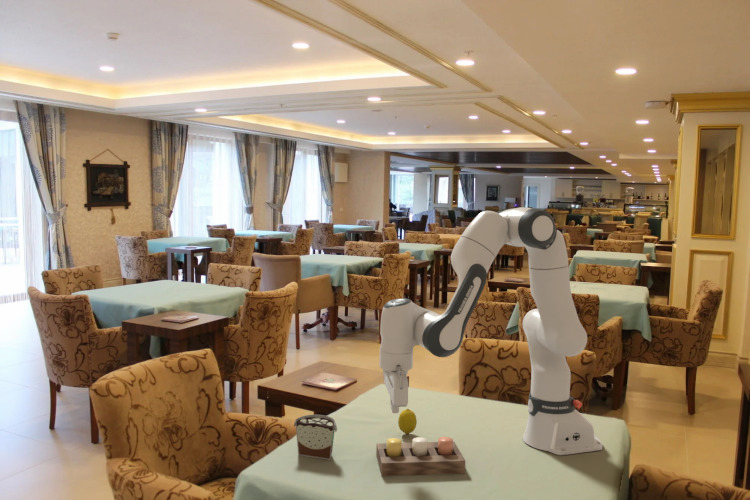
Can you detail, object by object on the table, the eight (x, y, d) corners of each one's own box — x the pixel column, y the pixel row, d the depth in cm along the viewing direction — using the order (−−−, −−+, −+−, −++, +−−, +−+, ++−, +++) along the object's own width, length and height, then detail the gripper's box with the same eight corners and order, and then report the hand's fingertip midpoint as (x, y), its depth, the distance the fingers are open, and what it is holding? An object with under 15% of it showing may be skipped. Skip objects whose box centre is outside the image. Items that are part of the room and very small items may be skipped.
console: (453, 453, 166) (454, 441, 166) (464, 473, 154) (465, 460, 154) (376, 455, 164) (376, 443, 163) (381, 476, 152) (381, 463, 151)
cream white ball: (425, 449, 161) (425, 437, 161) (428, 456, 157) (428, 443, 157) (411, 449, 160) (411, 437, 160) (413, 456, 156) (413, 443, 156)
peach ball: (450, 448, 162) (451, 436, 161) (454, 455, 158) (454, 442, 157) (436, 449, 161) (436, 436, 161) (439, 455, 157) (439, 443, 157)
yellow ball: (400, 450, 160) (400, 437, 160) (402, 456, 156) (402, 444, 156) (385, 450, 160) (385, 438, 159) (387, 457, 156) (387, 444, 155)
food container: (342, 451, 166) (343, 416, 165) (335, 460, 160) (335, 425, 159) (301, 445, 169) (302, 411, 168) (293, 454, 164) (293, 419, 163)
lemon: (414, 439, 176) (415, 412, 175) (396, 437, 177) (397, 411, 176) (417, 431, 181) (418, 406, 180) (399, 429, 182) (400, 404, 181)
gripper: (414, 372, 146) (413, 426, 147) (402, 350, 166) (400, 398, 167) (389, 372, 145) (388, 426, 146) (379, 350, 165) (378, 398, 166)
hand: (394, 411), depth 157 cm, fingers closed
